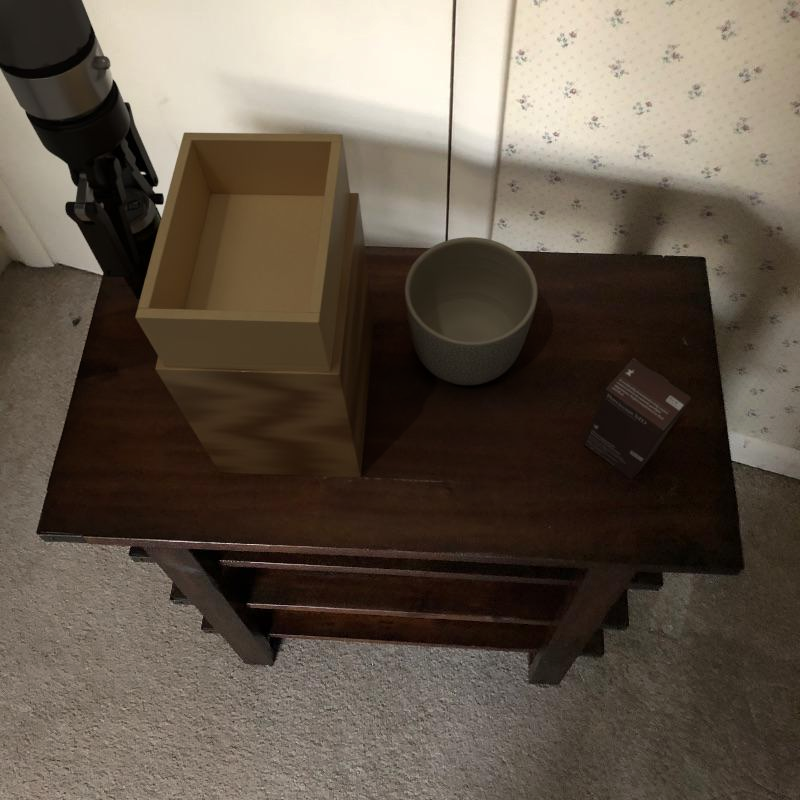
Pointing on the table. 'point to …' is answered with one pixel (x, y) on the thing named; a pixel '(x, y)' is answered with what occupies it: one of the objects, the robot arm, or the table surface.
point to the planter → (469, 308)
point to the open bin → (249, 253)
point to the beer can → (142, 220)
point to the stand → (291, 394)
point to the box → (634, 418)
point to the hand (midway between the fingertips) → (156, 273)
